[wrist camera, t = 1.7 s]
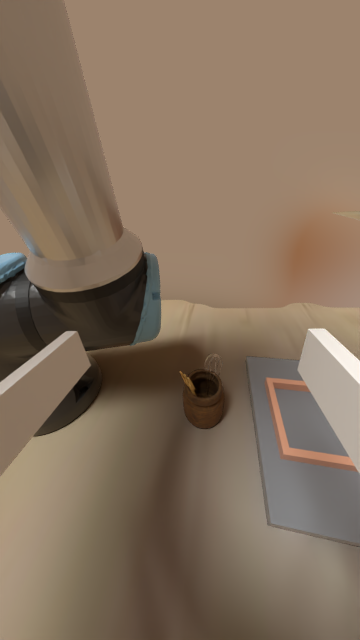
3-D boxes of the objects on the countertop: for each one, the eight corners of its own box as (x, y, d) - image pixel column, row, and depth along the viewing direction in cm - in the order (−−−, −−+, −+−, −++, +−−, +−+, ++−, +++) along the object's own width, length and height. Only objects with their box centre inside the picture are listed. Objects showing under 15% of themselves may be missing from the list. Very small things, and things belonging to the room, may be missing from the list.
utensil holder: (230, 409, 29) (239, 357, 22) (203, 441, 26) (204, 391, 19) (201, 386, 33) (201, 334, 26) (175, 411, 29) (166, 360, 22)
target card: (267, 525, 19) (274, 520, 17) (245, 361, 36) (247, 350, 35) (448, 567, 16) (478, 567, 15) (331, 368, 34) (339, 357, 32)
